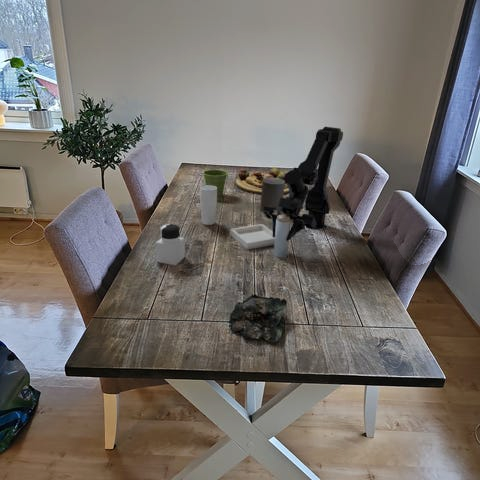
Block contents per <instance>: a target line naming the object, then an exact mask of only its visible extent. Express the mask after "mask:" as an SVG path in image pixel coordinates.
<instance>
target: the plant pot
mask: <svg viewBox="0 0 480 480" xmlns="http://www.w3.org/2000/svg"><path fill="white" fill-rule="evenodd" d="M228 174H229V173H228V171H226V170H222V169H207V170H204V171H203V172H202V175H204V177H203V178H204V179H205V180H204V181H205V185H212V186H216V187H217V198H221V197H222V196H223V194H224V189H225V184H226V179H227V175H228Z"/></svg>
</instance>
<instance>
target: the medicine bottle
mask: <svg viewBox="0 0 480 480" xmlns="http://www.w3.org/2000/svg"><path fill="white" fill-rule="evenodd" d="M159 229H160V239H158V240H157V241H155V258H156V259H155V260H156V263H160V264H164V265H171V266H177V265H178V264H179V263H180V262H181V261H183V260H184V258H185V257H186V241H185V240H186V239H185V237H181V236H180V235H181V234H180V227H179V226H178V225H177V224H175V223H174V224H173V223H168V224H164V225H161V227H160V228H159Z"/></svg>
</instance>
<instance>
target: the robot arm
mask: <svg viewBox="0 0 480 480" xmlns="http://www.w3.org/2000/svg"><path fill="white" fill-rule="evenodd" d="M341 129H342V128H341V127H331V126H324V127H323V128H322V129H321V128H320V129H318V130H317V131H316V133H315V139H314V141H313V143H312V145H311V147H310V150H309V152H308V155H307V156H306V158H305V160H303V161H302V162H301V163H299V165H298V167H295V166H294V167H293V169H291V170H289V171H288V172H285V173H286V174H285V177H284V180H285V182H286V184H287V187H288V189H289V190H290V191H291V192H290V193H289V195H288V196H286V197H283V198H282V197H280V200H279V204H278V207H281V208H280V209H281V210H282V212H279V211H277V210H276V208H275V207H273V206H269V205H266V206H264V207H263V209H262V211H261V213H262V214H263V215H264V217H265V218H266V219H269V220H272V231H273V237H275V229H276V219H277V216H278V215H281V214H284V215H288V216H290V220H291V221H293V222H292V225H291V226H290V232H289V234H288V236H287V239H286V240H287V241H289V242H290V240H291V239H293V238H294V236H295V235H296V234H298V233H299V232H300V231H302V230H306V229H308V230H313V231H314V230H316V229H321V228H326V227H327V224H325V222H326V221H325V220H326V215H328V214H330V209H331V205H330V202H329V194H328V191H327V185H328V181H329V180H328V179H329V176H330V172H331V167H332V161H333V156H334V152H335V151H336V150H337V149H338V148H339V147H340V144H341V142H342V140H343V138H344V132H343V131H342V130H341ZM307 185H308V186H313V187H312V188H311V189H309V187H308V186H307ZM304 204H305V205H304ZM303 205H304V206H303ZM304 207H305V211H308V213H303V214H302V215H301V216H300V213H301V211H302V210H303V209H304Z"/></svg>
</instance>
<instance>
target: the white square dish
mask: <svg viewBox="0 0 480 480" xmlns="http://www.w3.org/2000/svg"><path fill="white" fill-rule="evenodd" d="M229 236H230V237H231V238H233V239H234V240H235V241H236V242H237V243H238V244H239V245H241V247H243V248H244V249H246V251H247V250H254V249H257V248H258V249H259V248H264V247H268V246H274V242H275V237H273V229H272V230H271V229H270V228H269V227H268V226H266V225H264V224H263V223H258V224H253V225H247V226H241V227H235V228H234V227H233V228H230V229H229Z"/></svg>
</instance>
